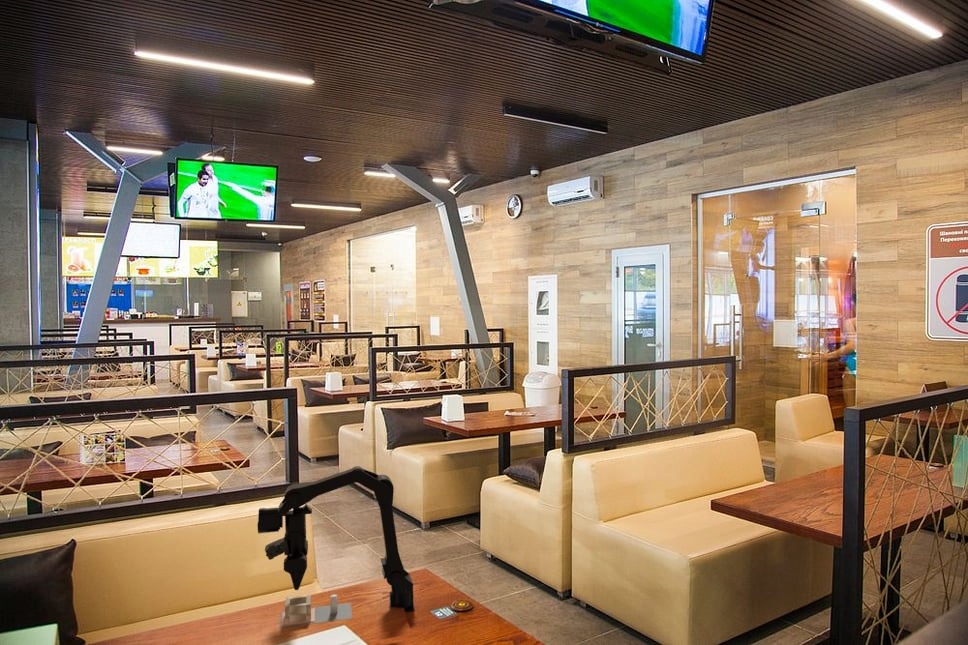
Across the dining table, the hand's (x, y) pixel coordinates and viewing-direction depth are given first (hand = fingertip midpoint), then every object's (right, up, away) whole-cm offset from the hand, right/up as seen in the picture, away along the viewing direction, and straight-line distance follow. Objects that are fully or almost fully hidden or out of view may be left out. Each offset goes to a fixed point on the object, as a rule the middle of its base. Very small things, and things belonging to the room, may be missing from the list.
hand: (297, 583), depth 191 cm
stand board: (+5, -11, +1) cm, 12 cm away
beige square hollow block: (0, -10, 0) cm, 10 cm away
